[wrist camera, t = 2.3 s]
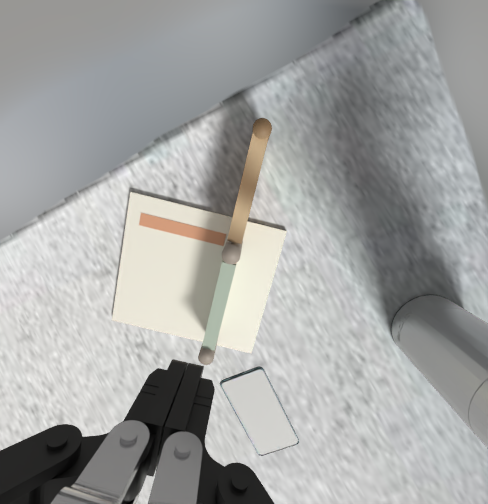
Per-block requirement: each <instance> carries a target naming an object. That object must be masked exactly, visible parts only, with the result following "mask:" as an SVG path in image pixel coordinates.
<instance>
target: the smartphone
mask: <svg viewBox="0 0 488 504" xmlns="http://www.w3.org/2000/svg"><path fill="white" fill-rule="evenodd" d="M220 385H221V387H222V389H223V391H224V393H225V395H226V396H227V398H228V400H229V402H230V404H231V406H232V407H233V409H234V411H235V413H236V415H237V417H238V418H239V420H240V422H241V424H242V426H243V428H244V429H245V431H246V433H247V435H248V437H249V439H250V440H251V442H252V444H253V446H254V448H255V450H256V451H257V453H258V454H259V455H261V456H263V455H266V454H269V453H272V452H275V451H278V450H281V449H284V448H287V447H291V446H294V445H297V444H298V443H299V439H298V437H297V435H296V433H295V431H294V429H293V427H292V425H291V423H290V421H289V419H288V417H287V415H286V413H285V411H284V409H283V407H282V405H281V403H280V401H279V399H278V397H277V395H276V393H275V391H274V389H273V387H272V385H271V383H270V381H269V379H268V377H267V375H266V373H265V371H264V369H263V368H262V367H257V368H254V369H252V370H249V371H246V372H244V373H241V374H238V375H236V376H233V377H230V378H228V379H225V380H222V381H221V383H220Z"/></svg>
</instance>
